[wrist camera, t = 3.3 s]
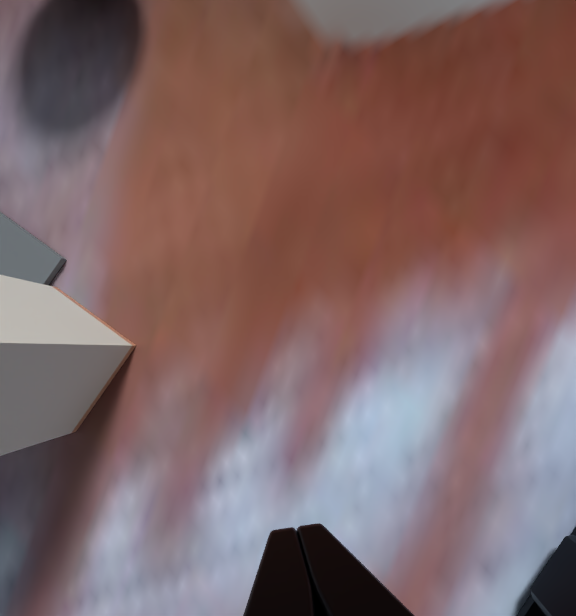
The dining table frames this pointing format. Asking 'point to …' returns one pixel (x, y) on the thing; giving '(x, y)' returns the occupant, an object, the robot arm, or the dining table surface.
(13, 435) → the block
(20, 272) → the mat
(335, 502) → the dining table surface
